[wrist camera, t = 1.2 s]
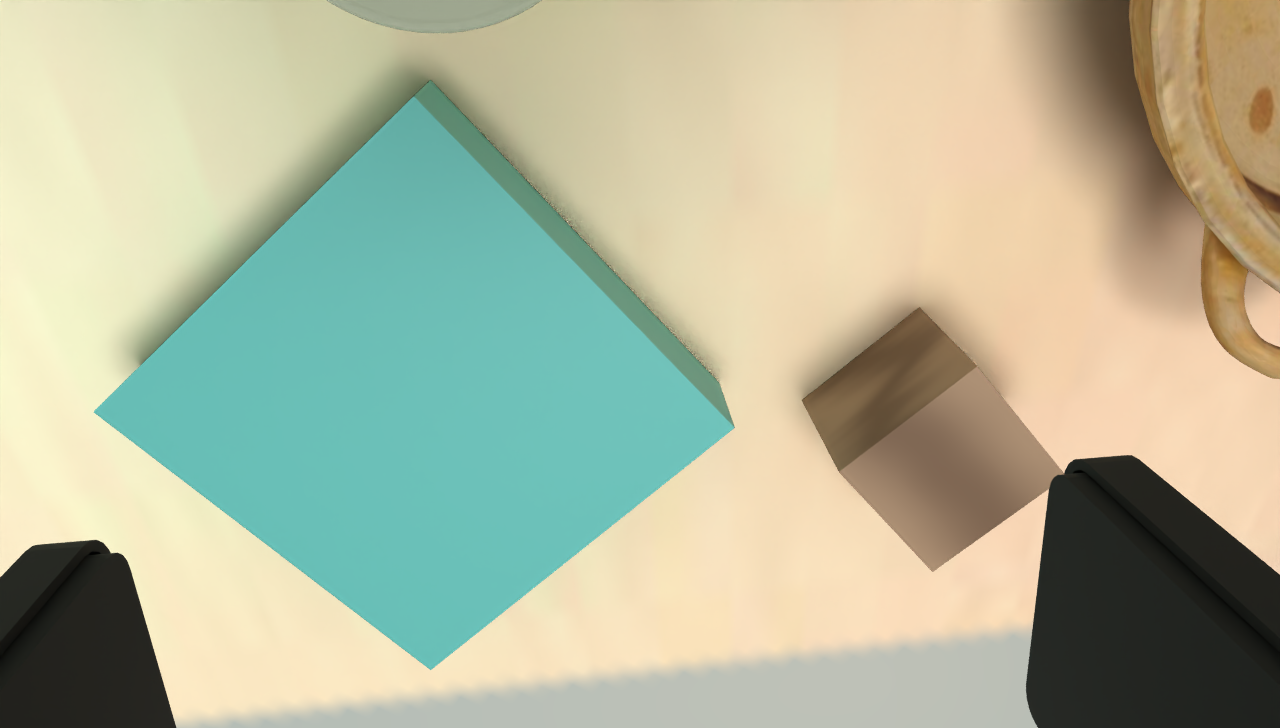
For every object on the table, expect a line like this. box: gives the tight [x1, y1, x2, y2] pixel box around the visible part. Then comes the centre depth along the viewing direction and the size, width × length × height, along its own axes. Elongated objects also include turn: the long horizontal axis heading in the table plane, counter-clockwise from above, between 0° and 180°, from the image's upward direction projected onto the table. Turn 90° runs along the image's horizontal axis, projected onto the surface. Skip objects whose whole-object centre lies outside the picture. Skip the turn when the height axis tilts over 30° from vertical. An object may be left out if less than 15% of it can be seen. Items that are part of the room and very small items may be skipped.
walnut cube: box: [802, 307, 1064, 572], centre depth 37 cm, size 6×6×6 cm
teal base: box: [94, 80, 735, 670], centre depth 36 cm, size 16×16×4 cm
